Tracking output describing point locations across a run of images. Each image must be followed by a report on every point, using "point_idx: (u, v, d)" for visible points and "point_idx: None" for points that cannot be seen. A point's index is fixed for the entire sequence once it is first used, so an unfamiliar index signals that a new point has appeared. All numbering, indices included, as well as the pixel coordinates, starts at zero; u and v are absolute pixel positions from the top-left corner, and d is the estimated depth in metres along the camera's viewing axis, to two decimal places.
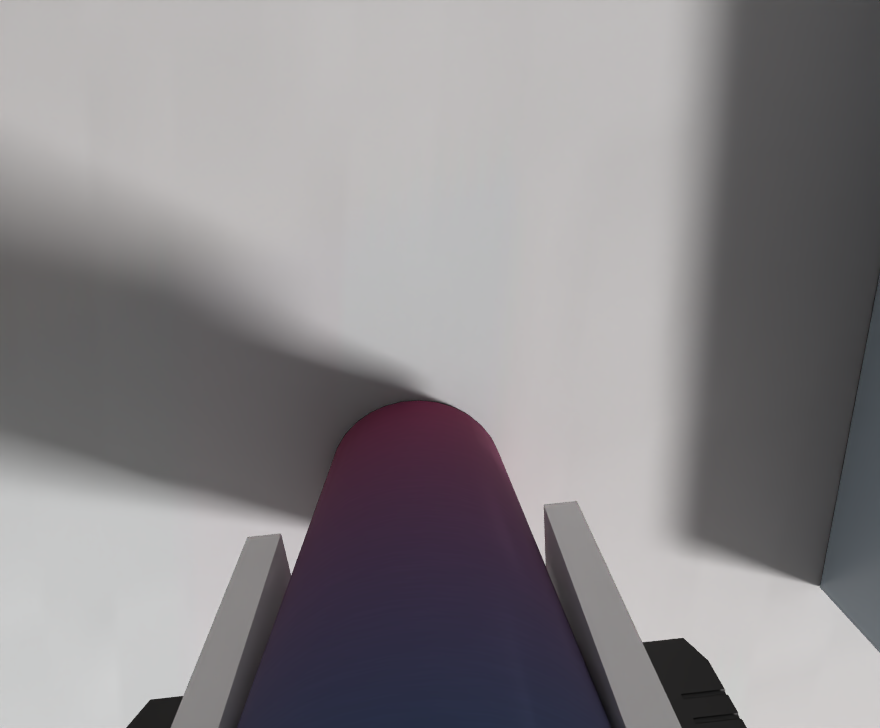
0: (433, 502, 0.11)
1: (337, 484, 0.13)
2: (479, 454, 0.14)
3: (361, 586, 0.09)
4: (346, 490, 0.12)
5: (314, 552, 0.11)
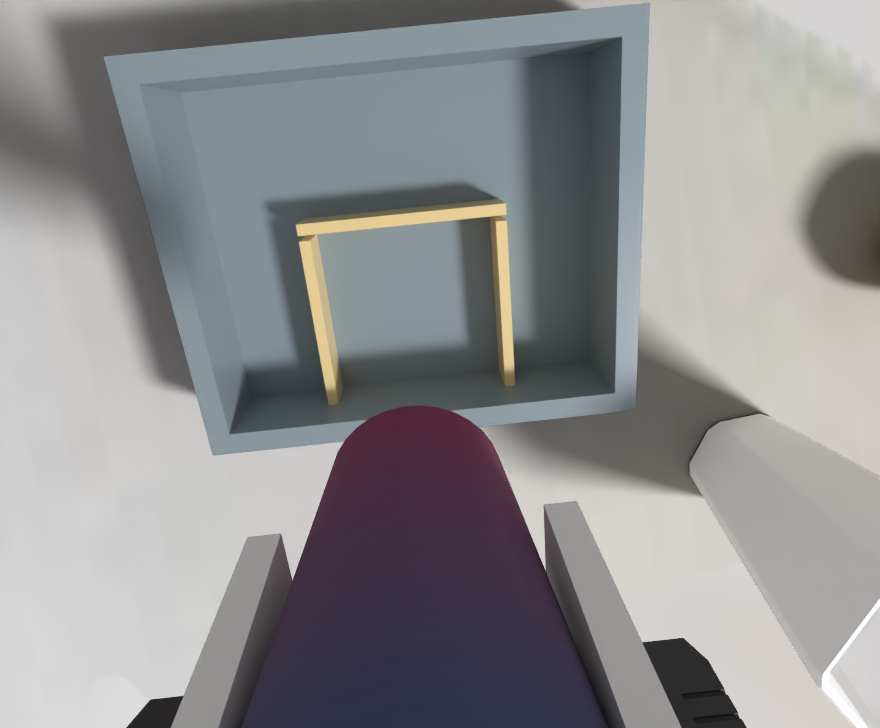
0: (434, 509, 0.11)
1: (338, 490, 0.13)
2: (479, 460, 0.14)
3: (362, 595, 0.09)
4: (347, 496, 0.12)
5: (315, 559, 0.11)
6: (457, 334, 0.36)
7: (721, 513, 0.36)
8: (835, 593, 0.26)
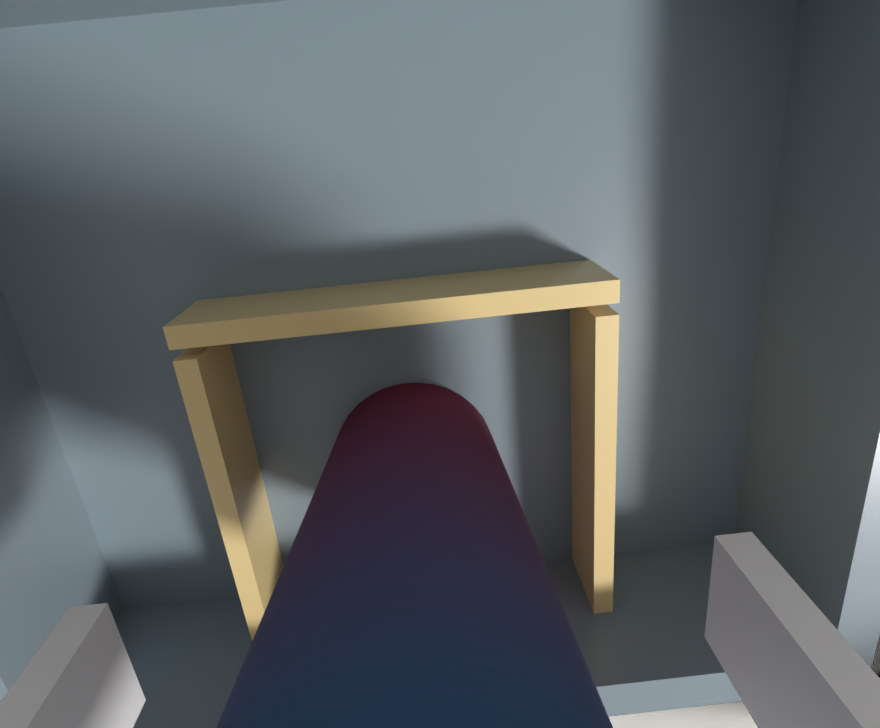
0: (426, 461, 0.12)
1: (341, 452, 0.14)
2: (470, 427, 0.15)
3: (360, 523, 0.10)
4: (349, 455, 0.14)
5: (320, 504, 0.12)
6: None
7: None
8: None
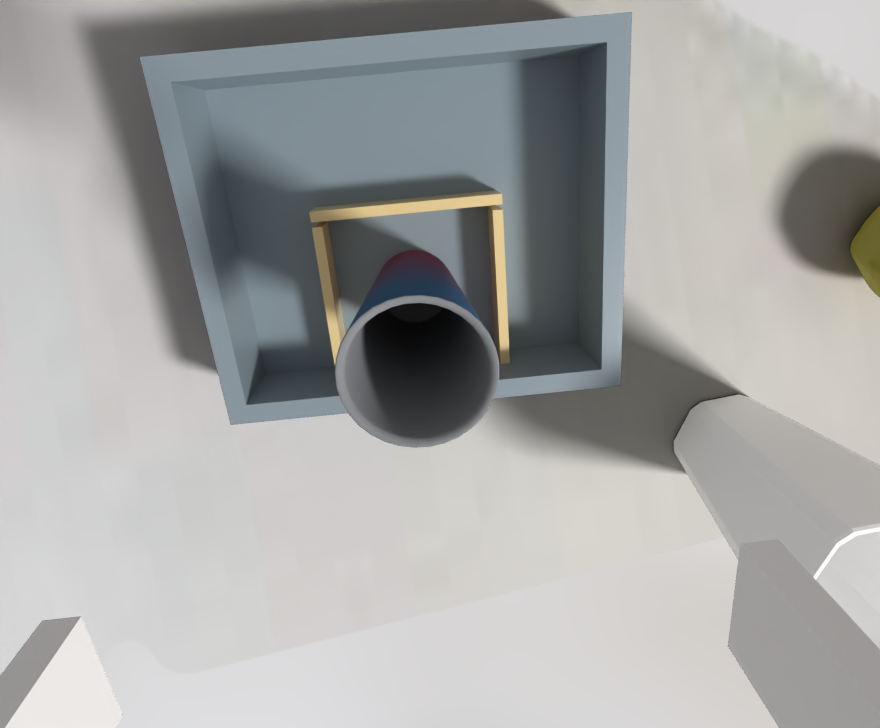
0: (420, 261, 0.32)
1: (383, 269, 0.34)
2: (440, 263, 0.35)
3: (397, 270, 0.30)
4: (388, 266, 0.33)
5: (378, 277, 0.32)
6: None
7: (700, 484, 0.39)
8: (796, 546, 0.29)
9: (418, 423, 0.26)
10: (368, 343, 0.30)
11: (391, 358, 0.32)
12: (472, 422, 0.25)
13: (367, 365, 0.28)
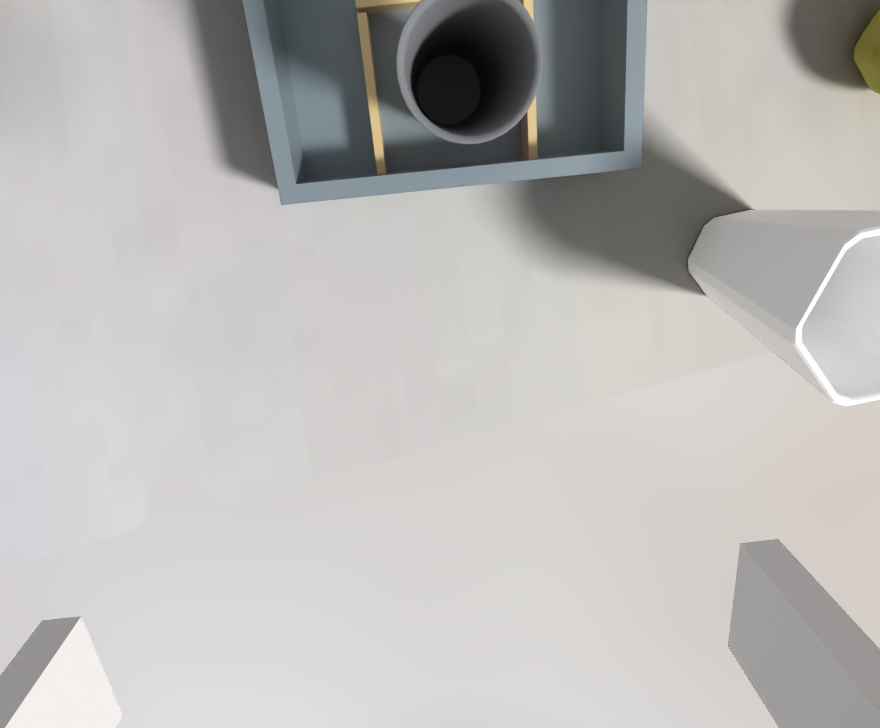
0: None
1: None
2: None
3: None
4: None
5: None
6: None
7: (715, 275, 0.41)
8: (807, 268, 0.32)
9: (466, 134, 0.29)
10: None
11: None
12: (517, 117, 0.28)
13: (416, 102, 0.31)
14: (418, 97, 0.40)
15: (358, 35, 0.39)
